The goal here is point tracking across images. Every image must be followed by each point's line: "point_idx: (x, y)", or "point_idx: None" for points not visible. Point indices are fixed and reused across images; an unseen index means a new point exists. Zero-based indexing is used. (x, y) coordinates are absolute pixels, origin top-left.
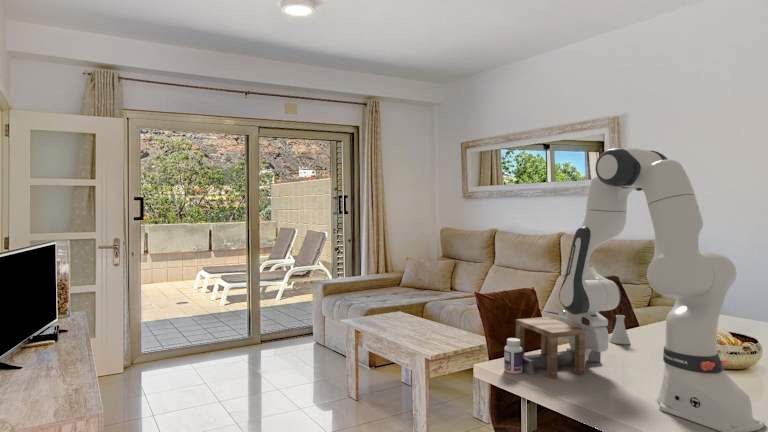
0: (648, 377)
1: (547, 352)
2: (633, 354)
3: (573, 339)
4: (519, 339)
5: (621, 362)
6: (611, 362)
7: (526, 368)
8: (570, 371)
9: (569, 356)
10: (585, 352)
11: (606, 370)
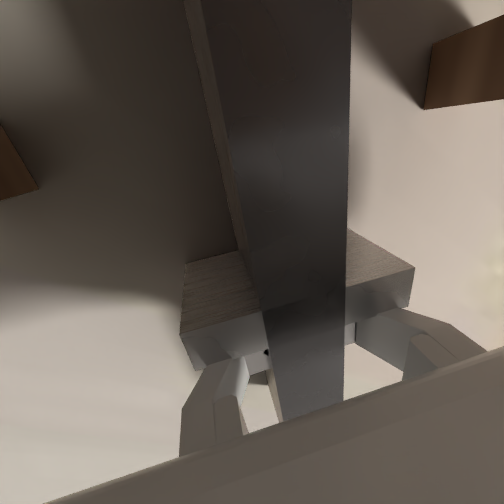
0: (12, 498)
1: (494, 62)
2: None
3: (456, 441)
4: None
5: None
6: (254, 420)
7: None
8: (48, 99)
9: (235, 200)
10: (198, 384)
11: (117, 376)
